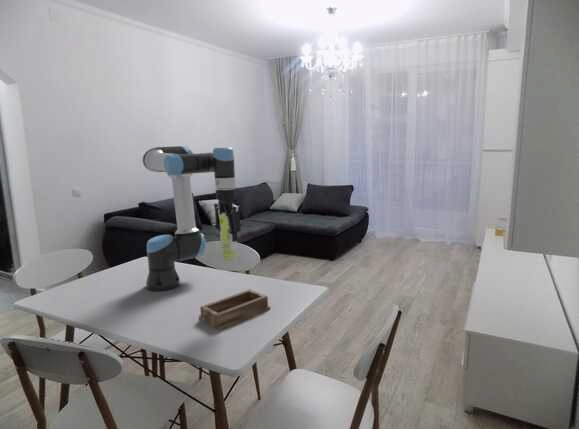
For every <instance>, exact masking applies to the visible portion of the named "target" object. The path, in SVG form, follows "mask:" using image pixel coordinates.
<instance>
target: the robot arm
mask: <svg viewBox="0 0 579 429" xmlns="http://www.w3.org/2000/svg"><path fill="white" fill-rule="evenodd" d="M212 150H213V151H212V152H204V153H195V152H194V150H193V149H192V148H191V147H189V146H185V145H184V146H182V145H178V146H156V147H152V148H150V149H148V150H146V151H145V152H144V154H143V156H142V163H143V166H144V168H146V169H147V170H148V171H150V172H152V173H153V172H155V173H166V174H167V177H168V178H170V179H171V184H172V194H173V202H174V210H175V211H174V212H175V219H176V226H177V227H176V228H177V229H176V230H175V232H174V236H173V235H171V234H161V235H157V236H154V237H152V238H150V239H148V240H147V242H146V253H147V254H146V255H147V265H148V274H147V278H146V282H145V285H146V289H147V290H148V291H151V292H164V291H170V290H172V289H176V288H177V287H179V285H181V284H180V283H181V279H180V276H179V275H178V272H177V270H176V267H175V264H176V262H181V261H185V260H191V259H196V258H199V257H202V256H203V255H204V253H205V251H206V238H205V235H204V233H202V232H201V231H200V229H199V228H197V225H196V217H195V209H194V201H193V199H194V198H193V191H192V190H193V189H192V182H191V177H192V176H193V174H204V173H205V174H207V173H213V174H214V185H215V200H217V201H218V203H214V204H213V207H214V211H215V212H214V215H215V217H214V218H215V229H218V231H219V238H220V239H219V240H220V248H222V249H223V245H222V236H221V227H220V220H219V214H220V215H221V214H222V212H223V213H226V216H227V217H228V222H229V226H230V230H231V232H230V249H231V250H235V249H236V250H238V233H240V232H241V230H242V229H241V217H240V205H236V203H235V201H234V200H235V199H236V198H237V192H236V191H237V190H236V189H235V188H236V186H237V185H236V177H235V173H236V172H235V157H234V150H233V148H232V147H215V148H213V149H212ZM218 210H219V213H218ZM231 212H232V213H231ZM229 213H230V214H229ZM233 229H234V230H233Z"/></svg>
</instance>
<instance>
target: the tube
mask: <svg viewBox="0 0 579 429" xmlns="http://www.w3.org/2000/svg"><path fill="white" fill-rule="evenodd" d="M218 213H219V210H218ZM231 213H232V212H231ZM229 214H230V213H229ZM219 220H220V227H221V236H222V245H223V248H222V253H223V259H224V261H233V260H236V259H237V249H235V250H231V249H230V232H231V230H230V226H229V222H228V217H227V216H226V213H223V212H222V214H221V215H220V214H219ZM233 230H234V229H233Z"/></svg>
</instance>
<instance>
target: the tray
mask: <svg viewBox="0 0 579 429" xmlns="http://www.w3.org/2000/svg"><path fill="white" fill-rule="evenodd" d="M268 298H269V297H268V295H265V294H263V293H260V292H257V291H255V290H253V289H247V290H245V291H241V292H238V293H236V294H233V295H230V296H227V297H225V298H222V299H218V300H216V301H213V302H211V303H207V304H205V305H202V306H200V307H199V308H200V315H199V316H198V317H199V319H200V320H202V321H204V322H205V323H207V324H209V325H210V326H212V327H214V328H216V329H217V330H220V331H221V330H223V329H226V328H228V327H230V326H233V325H236V324H238V323H241V322H243V321H245V320H248V319H250V318H252V317H255V316H257V315H260V314H262V313H264V312H266V311H269V310H271V306H270V305H269V301H268V300H269V299H268Z"/></svg>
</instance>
